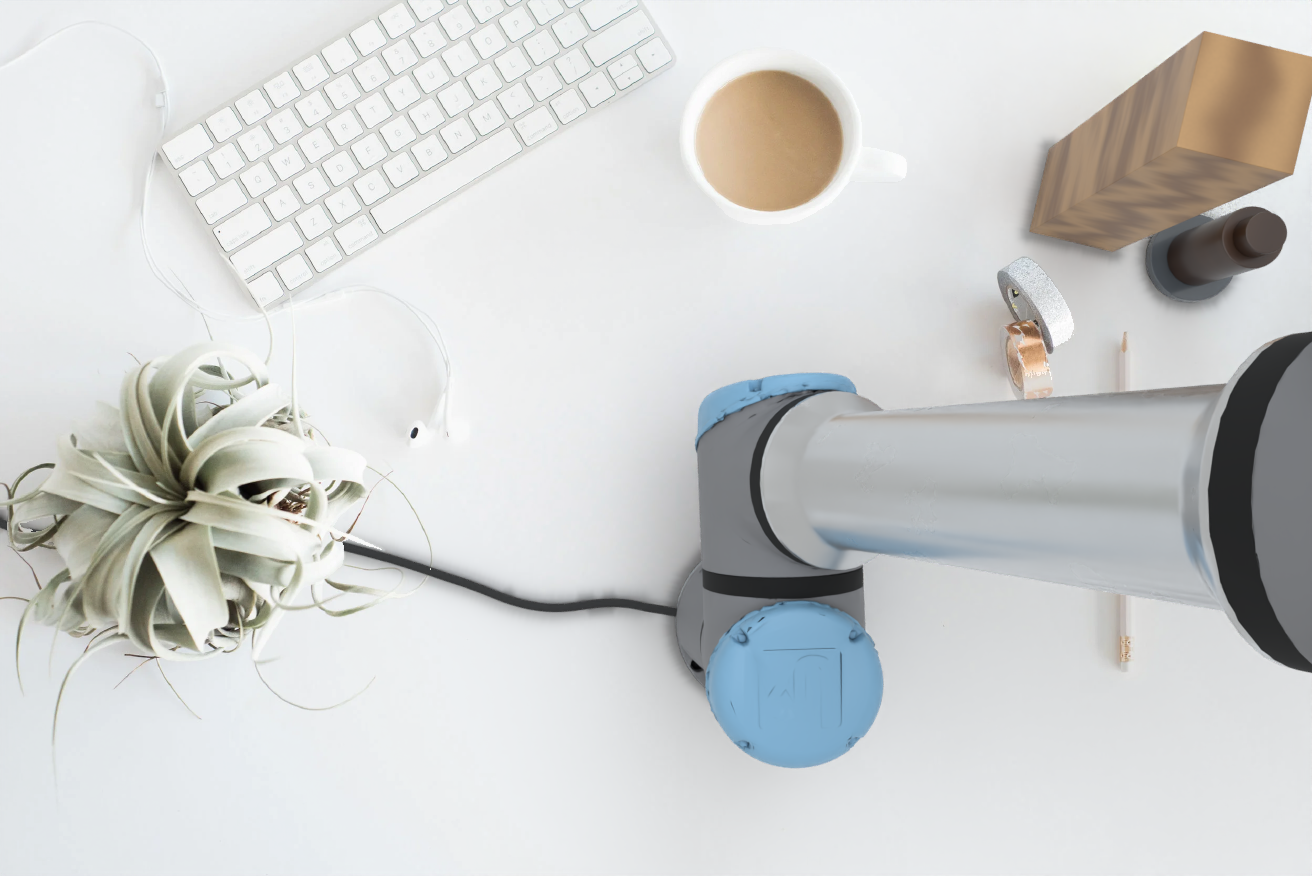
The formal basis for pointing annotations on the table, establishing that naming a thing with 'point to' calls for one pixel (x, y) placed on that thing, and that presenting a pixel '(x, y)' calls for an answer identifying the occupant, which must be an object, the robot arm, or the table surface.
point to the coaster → (1163, 274)
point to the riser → (1177, 143)
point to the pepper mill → (1227, 246)
